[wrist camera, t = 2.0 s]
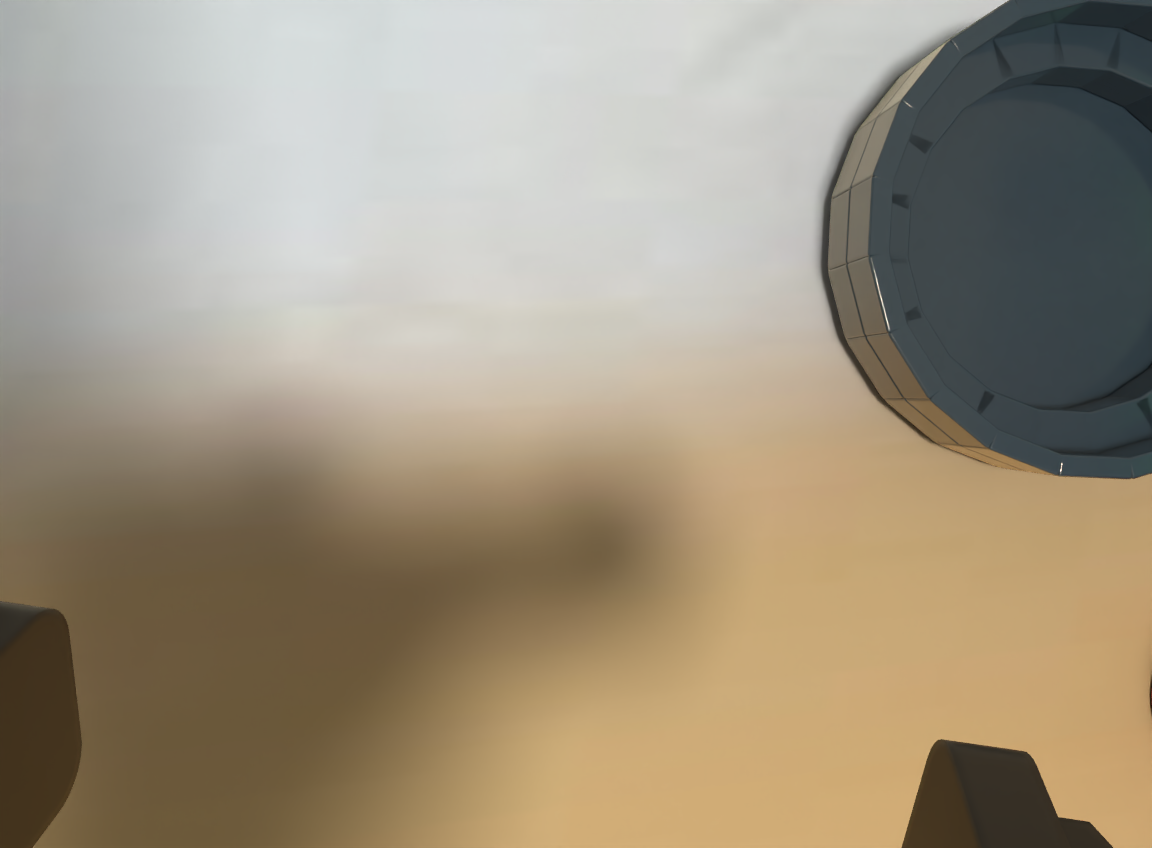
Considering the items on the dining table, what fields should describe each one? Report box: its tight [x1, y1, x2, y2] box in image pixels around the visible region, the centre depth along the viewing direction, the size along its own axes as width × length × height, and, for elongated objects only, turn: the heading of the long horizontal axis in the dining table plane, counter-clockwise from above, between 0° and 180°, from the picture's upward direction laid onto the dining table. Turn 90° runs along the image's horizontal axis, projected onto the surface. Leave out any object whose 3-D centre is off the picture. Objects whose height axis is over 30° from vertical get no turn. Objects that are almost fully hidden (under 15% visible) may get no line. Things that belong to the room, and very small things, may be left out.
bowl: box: [828, 0, 1152, 479], centre depth 31 cm, size 13×13×4 cm
